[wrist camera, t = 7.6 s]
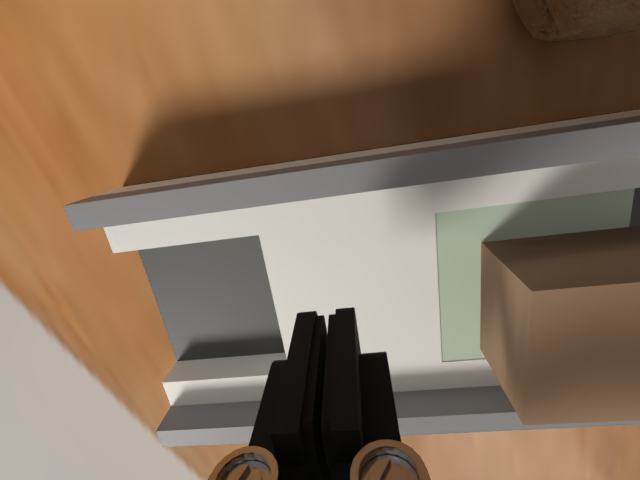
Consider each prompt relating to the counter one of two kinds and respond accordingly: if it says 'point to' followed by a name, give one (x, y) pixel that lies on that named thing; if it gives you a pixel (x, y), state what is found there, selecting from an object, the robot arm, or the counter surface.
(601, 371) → the walnut block
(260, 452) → the robot arm
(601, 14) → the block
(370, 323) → the board
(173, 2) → the counter surface
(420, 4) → the counter surface
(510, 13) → the counter surface
